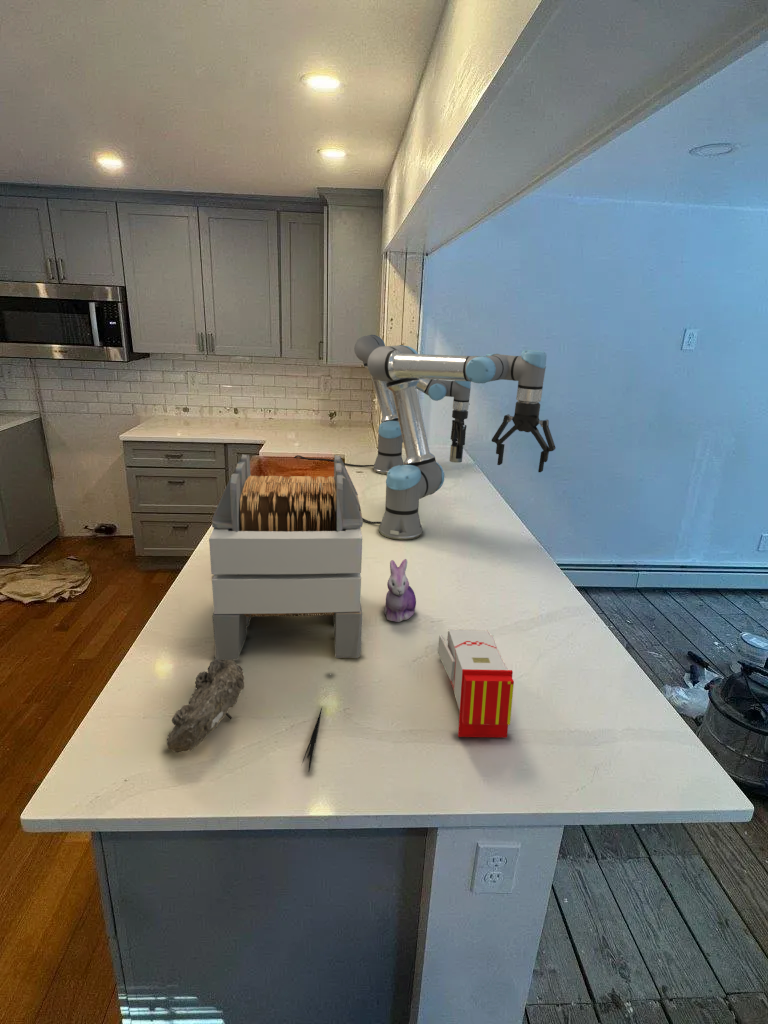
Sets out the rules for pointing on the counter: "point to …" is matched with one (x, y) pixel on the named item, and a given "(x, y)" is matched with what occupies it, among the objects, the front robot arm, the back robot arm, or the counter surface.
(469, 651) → the toy
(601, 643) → the counter surface
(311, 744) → the feather
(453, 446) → the can
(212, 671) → the fossil
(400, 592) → the figurine
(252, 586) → the record crate
